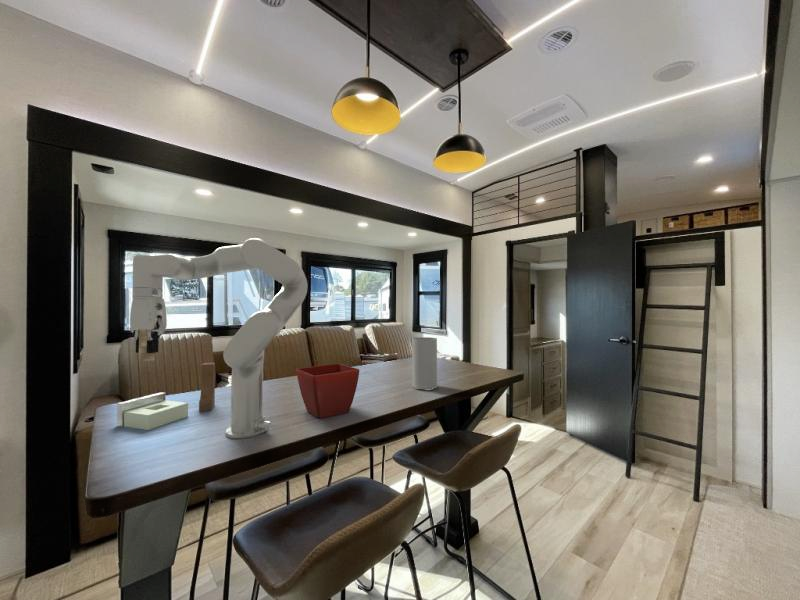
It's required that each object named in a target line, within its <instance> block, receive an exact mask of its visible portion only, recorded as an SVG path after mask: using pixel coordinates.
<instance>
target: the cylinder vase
mask: <svg viewBox="0 0 800 600" xmlns="http://www.w3.org/2000/svg"><path fill="white" fill-rule="evenodd" d="M411 339H412V341H411V342H412V345H411V347H412V349H411V350H412V352H411V353H412V355H411V356H412V357H411V358H412V360H411V361H412V364H411V366H412V368H411V369H412V379H411V380H412V381H411V382H412V388H413V387H414V388H417V389H432V388H435V387H437V388H438V338H436V337H429V336H428V337H426V336H424V337H421V336H419V337H412V338H411ZM414 388H413V389H414ZM417 389H416V390H417Z"/></svg>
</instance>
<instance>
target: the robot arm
mask: <svg viewBox="0 0 800 600" xmlns="http://www.w3.org/2000/svg"><path fill="white" fill-rule="evenodd" d="M254 269H255V270H259V271H260V272H262V273H264V274H265V275H266V276H268V277H271V279H274V280H275V281H277V282H278V283H280V284H281V285H282V286H281V289H280V290H279V292H278V293H276V294H275V296H274V297H273V298H272V299H271V301H270V302H269V303H268V304H267V305H266V306H265V307H264V309H262V310H259V311H256V312H254V313H253V314H252V315H250V317H249V318H248V319H247V320H246V321H245V322H244V324H243V325H241V327H240V328H239V329H238V330H237V332H236V333H235V334H234V335H233V337H232V338H231V339H230V340H229V341H228V342H227V344H226V345H225V348H224V350H223V353H222V354H223V360H224V363H225V364H226V365H227V366H228V367H230V368H231V379H230V381H231V386H230V390H231V391H230V426H229V427H227V428H226V430H225V436H226V437H227V438H230V439H245V438H251V437H255V436H259V435H261V434H262V433H265V432H266V431H268V430H269V428H270V426H272V421H270V420H269V421H267V420H266V415H263V412H264V411H263V406H264V405H263V404H264V402H263V401H264V397H263V395H264V361H265V350H266V348H267V347H268V346H269V345H270V344H271V342H272V341H273V339H274V338H275V337H277V336H278V335H280V333H281V332H282V330H283V329H284V328H285V326H286V324H287V323H288V322H290V320H291V318H292V317H293V316H294V315H295V313H296V312H297V310H298V309H299V308H300V306H301V305H302V304H303V302H304V301H305V299H306V296H307V293H308V280H307V277H306V275H305V272H304V270H303V268H302V267H301V265H300V264H299V263H298V262H297V261H296V260H294V259H293V258H291V257H290V256H288V255H286V254H285V253H283V252H281V251H280V250H278V249H277V248H275V247H274V246H272V245H270V243H268V242H266V241H265V240H263V239H261V238H258V237H257V238H256V237H253V238H248V239H246V240H245V241H244V242H243V243H242V244H237V245H227V246H221V247H218V248H216V249H215V250H214V251H213V252H212V253H210V254H207V255H202V256H196V257H195V256H194V257H183V256H181V255H178V254H173V253H163V254H156V255H154V254H145V253H144V254H136V255H134V256H133V258H132V295H131V296H132V298H131V299H132V302H131V306H130V316H129V326H130V328H129V331H130V332H131V333H132V335H133V336H134V340H135V353H136V354H139V329H141V330H147V331H148V339H149V340H147V353H155V354H156V353H158V352H159V340H160V339H161V336H162V335H163V333H165V332H166V331H167V330H166V329H167V325H168V324H167V321H168V320H167V309H166V302H165V300H164V298H163V295H164V293H163V291H164V290H163V289H164V288H163V287H164V286H163V284H164V282H163V281H164V278H170V279H172V280H173V279H175V280H179V281H191V280H197V279H204V278H205V279H206V278H210V277H214V276H220V275H225V274H228V273H236V272H242V271H248V270H254ZM153 329H155V330H153ZM152 332H154V333H153V335H152Z"/></svg>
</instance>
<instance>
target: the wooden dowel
mask: <svg viewBox="0 0 800 600" xmlns="http://www.w3.org/2000/svg"><path fill="white" fill-rule="evenodd" d="M153 330H155V329H153ZM153 333H154V332H152V335H153ZM147 340H149V339H148V331H147V330H141V329H139V353H138V362H139V363H151V362H155V361H156V353H147Z"/></svg>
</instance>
